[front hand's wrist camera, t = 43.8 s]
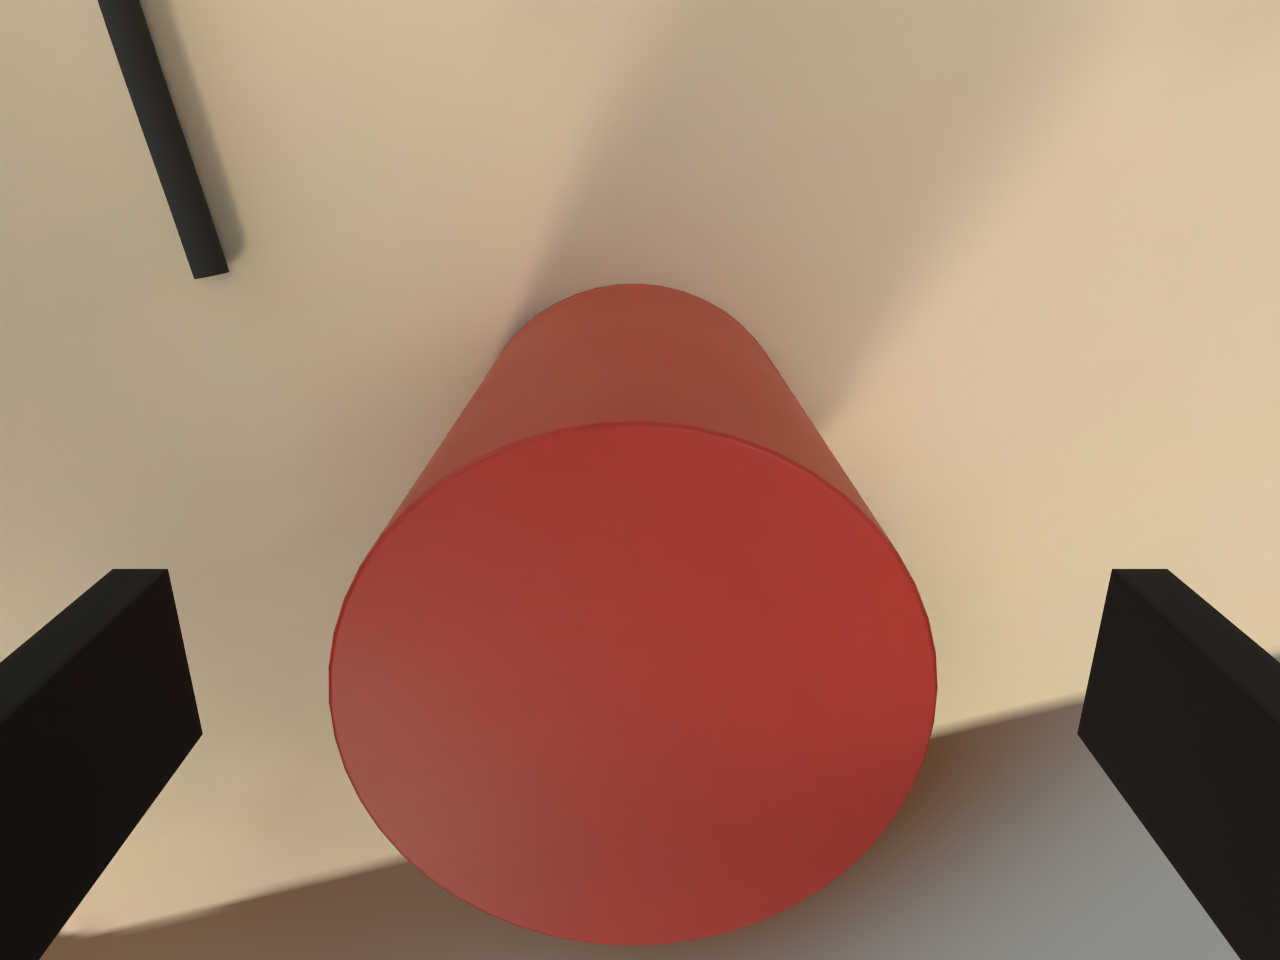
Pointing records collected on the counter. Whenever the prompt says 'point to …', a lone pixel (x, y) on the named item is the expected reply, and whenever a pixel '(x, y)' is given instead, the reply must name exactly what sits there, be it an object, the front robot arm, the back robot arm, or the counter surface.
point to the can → (633, 639)
